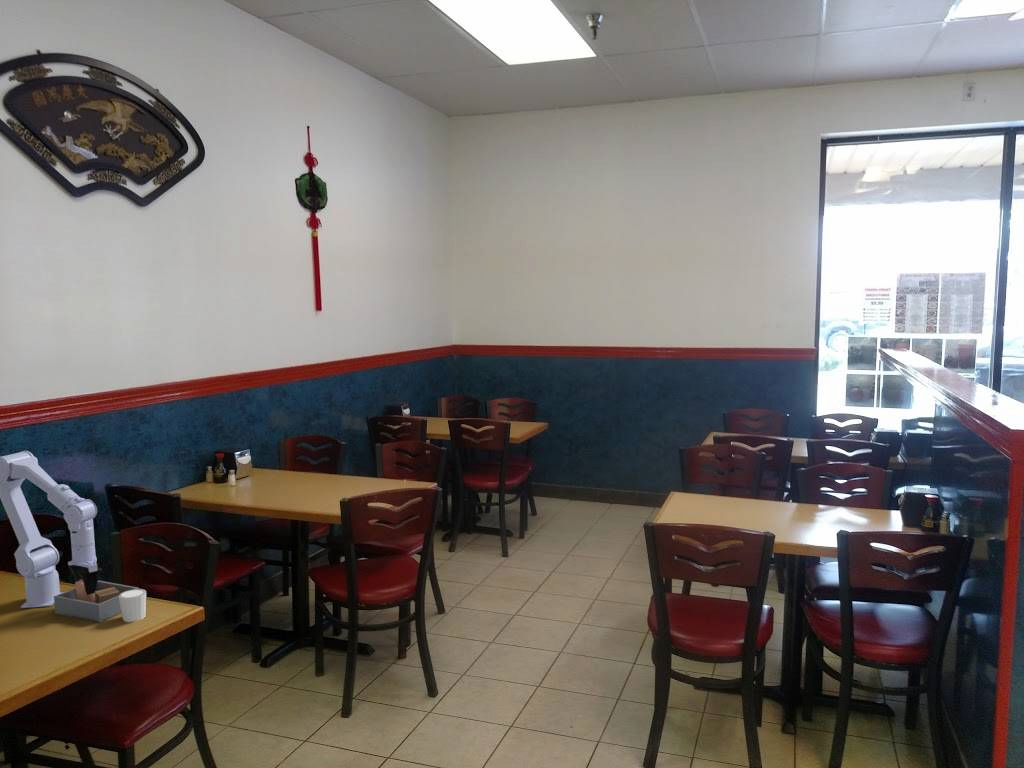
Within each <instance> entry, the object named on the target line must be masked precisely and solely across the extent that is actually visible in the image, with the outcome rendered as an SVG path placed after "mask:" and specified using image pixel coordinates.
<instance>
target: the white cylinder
mask: <svg viewBox="0 0 1024 768" xmlns="http://www.w3.org/2000/svg"><path fill="white" fill-rule="evenodd" d="M119 601H120V606H121V612H122V613H121V615H122V616H121V617H122V621H123V620H124V621H127V622H126V623H134V622H133V621H135V622H138V620H139V621H141V619H142V620H143V619H145V618H144V617H146V615H147V614H146V613H147V612H146V610H147V609H146V608H147V607H146V606H147V590H145V589H143V588H139V589H134V590H128V591H125V592H123V593H121V594H120V595H119ZM124 621H123V622H124Z"/></svg>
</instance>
